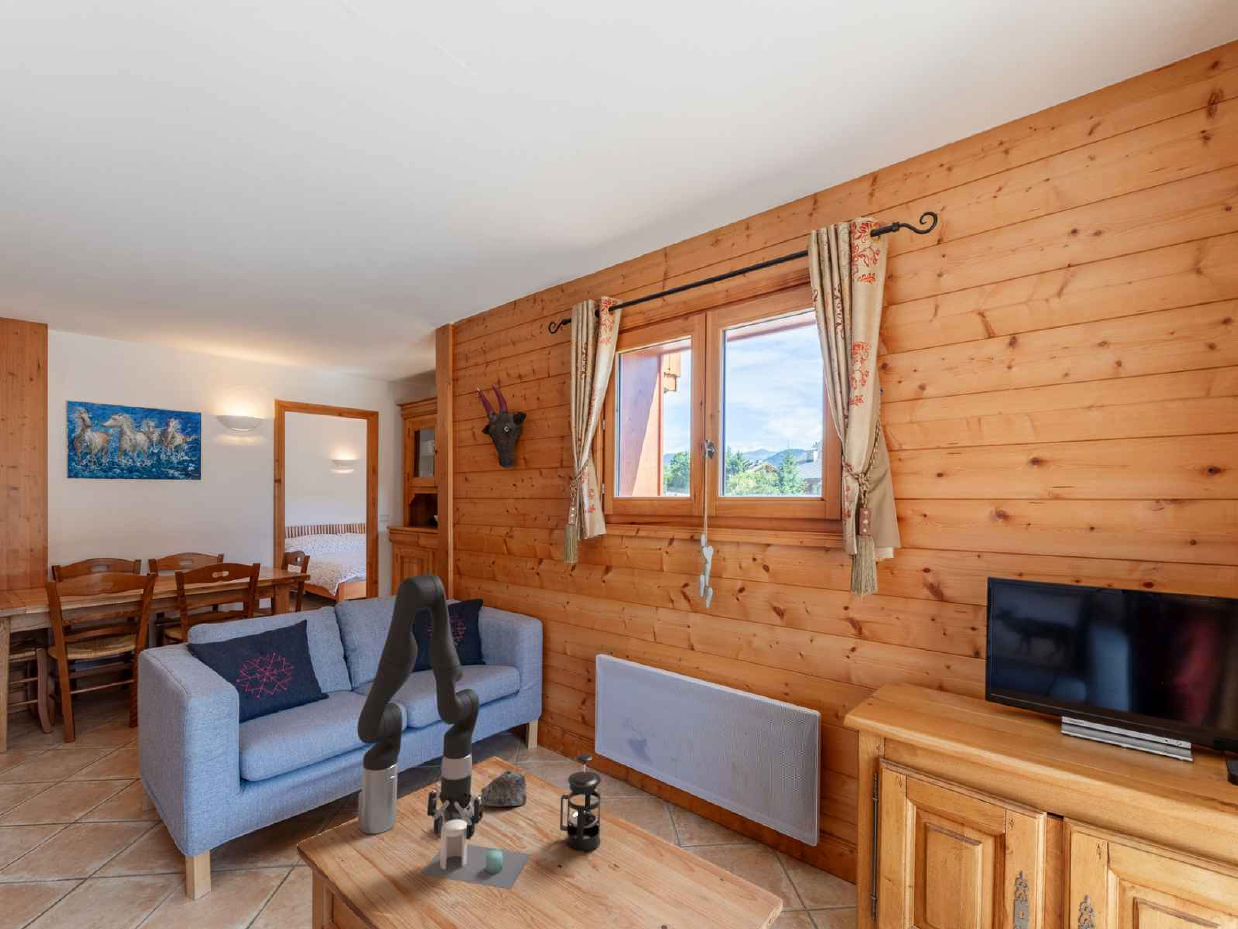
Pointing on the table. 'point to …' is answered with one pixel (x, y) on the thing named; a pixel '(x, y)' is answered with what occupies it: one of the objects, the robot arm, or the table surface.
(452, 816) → the ceramic mug
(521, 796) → the mineral rock
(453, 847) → the cover cup
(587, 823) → the french press
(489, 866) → the teal egg-shaped capsule
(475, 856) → the mat
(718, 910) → the table surface
